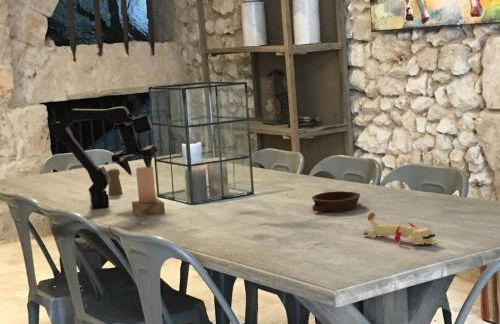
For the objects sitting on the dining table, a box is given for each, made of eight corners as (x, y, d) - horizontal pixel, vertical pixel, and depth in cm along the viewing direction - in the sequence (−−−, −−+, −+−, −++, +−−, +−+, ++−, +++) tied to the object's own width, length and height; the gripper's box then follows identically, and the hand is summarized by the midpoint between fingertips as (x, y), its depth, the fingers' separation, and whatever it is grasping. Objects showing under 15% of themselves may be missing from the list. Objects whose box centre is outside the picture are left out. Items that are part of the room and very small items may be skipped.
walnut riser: (139, 216, 330) (138, 206, 329) (132, 211, 339) (131, 201, 338) (164, 212, 333) (163, 202, 332) (157, 208, 342) (156, 198, 342)
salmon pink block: (141, 204, 331) (138, 170, 330) (137, 201, 337) (134, 168, 336) (157, 201, 333) (154, 168, 332) (153, 199, 339) (150, 166, 338)
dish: (374, 205, 321) (374, 192, 320) (334, 217, 306) (333, 203, 306) (338, 200, 334) (338, 188, 333) (298, 212, 319) (297, 198, 318)
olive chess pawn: (119, 195, 376) (117, 169, 374) (106, 195, 377) (104, 170, 376) (124, 192, 382) (122, 167, 380) (111, 192, 383) (109, 168, 381)
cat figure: (359, 243, 274) (423, 248, 255) (356, 215, 273) (420, 218, 254) (380, 236, 280) (444, 241, 261) (377, 209, 279) (441, 212, 260)
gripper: (157, 127, 352) (169, 162, 356) (118, 134, 360) (130, 169, 364) (144, 136, 342) (156, 173, 347) (105, 143, 350) (117, 179, 355)
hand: (140, 173), depth 353 cm, fingers open, 9 cm apart
